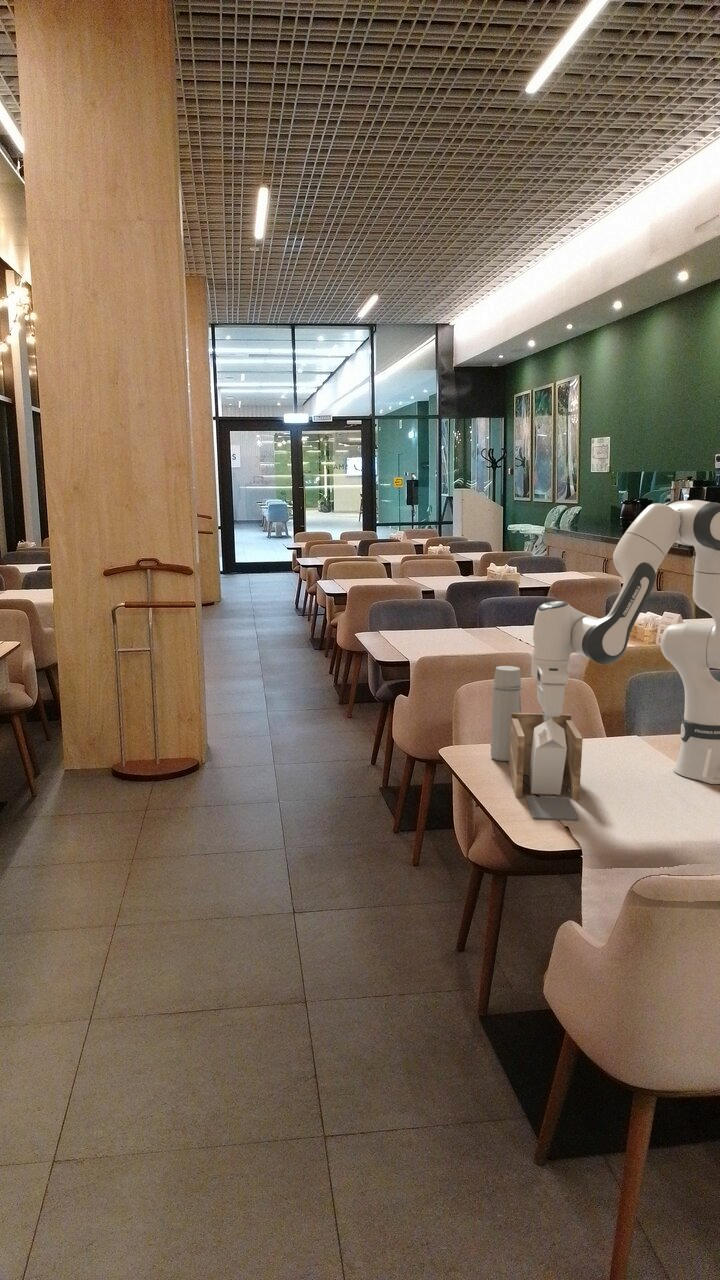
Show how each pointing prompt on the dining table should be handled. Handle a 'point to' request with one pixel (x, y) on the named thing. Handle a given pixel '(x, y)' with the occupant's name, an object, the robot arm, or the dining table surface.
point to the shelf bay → (523, 747)
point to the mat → (551, 808)
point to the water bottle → (504, 709)
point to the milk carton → (547, 758)
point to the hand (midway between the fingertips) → (547, 725)
